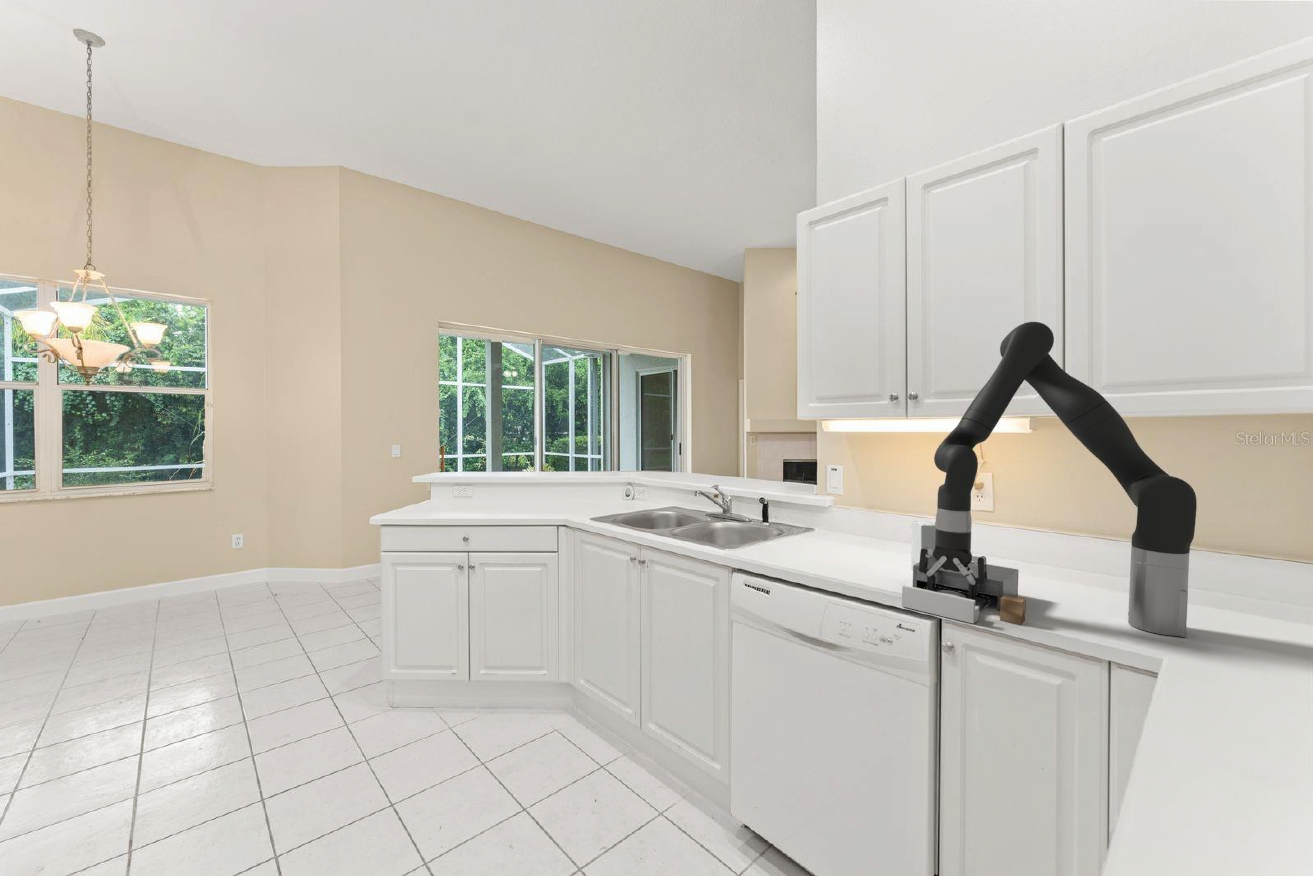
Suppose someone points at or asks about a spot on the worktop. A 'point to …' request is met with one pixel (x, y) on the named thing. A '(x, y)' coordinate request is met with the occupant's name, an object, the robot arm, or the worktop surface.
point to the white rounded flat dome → (952, 593)
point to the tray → (944, 603)
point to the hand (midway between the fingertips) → (951, 595)
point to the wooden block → (1012, 609)
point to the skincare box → (921, 539)
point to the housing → (996, 584)
